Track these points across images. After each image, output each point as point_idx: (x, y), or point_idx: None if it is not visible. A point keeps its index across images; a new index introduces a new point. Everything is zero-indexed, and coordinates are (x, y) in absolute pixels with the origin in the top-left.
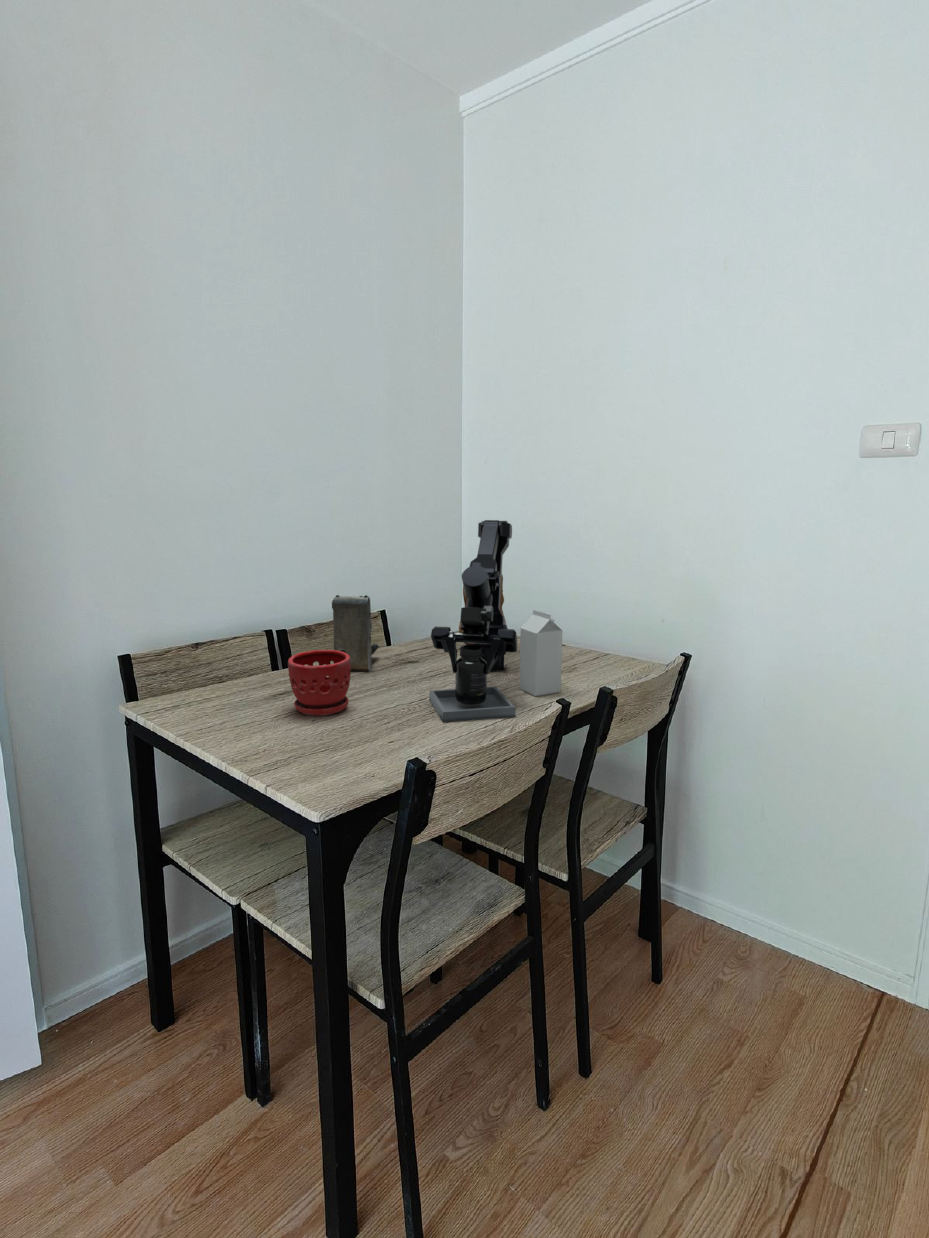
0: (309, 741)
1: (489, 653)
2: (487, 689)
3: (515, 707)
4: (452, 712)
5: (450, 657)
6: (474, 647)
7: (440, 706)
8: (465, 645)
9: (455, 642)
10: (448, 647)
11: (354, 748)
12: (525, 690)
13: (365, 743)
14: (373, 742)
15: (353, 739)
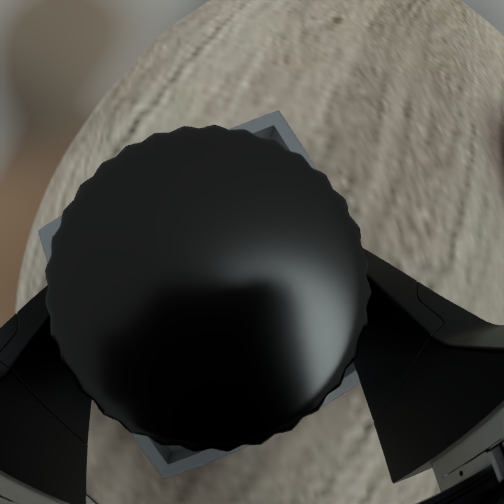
0: (451, 37)
1: (24, 341)
2: (190, 453)
3: (39, 231)
4: (248, 123)
5: (406, 275)
6: (148, 295)
7: (309, 164)
8: (322, 370)
9: (454, 474)
10: (484, 322)
11: (377, 5)
12: (89, 500)
13: (375, 18)
14: (366, 20)
15: (405, 34)
